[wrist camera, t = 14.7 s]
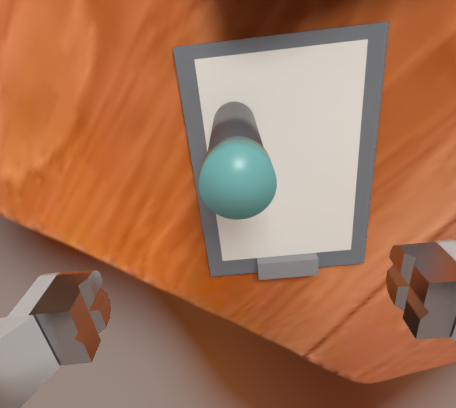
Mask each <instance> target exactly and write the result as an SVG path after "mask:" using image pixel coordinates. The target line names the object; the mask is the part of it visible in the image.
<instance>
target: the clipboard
mask: <svg viewBox="0 0 456 408" xmlns="http://www.w3.org/2000/svg"><path fill="white" fill-rule="evenodd" d="M388 29H389V22H380V23H372V24H363V25H355V26H347V27H338V28H330V29H321V30H313V31H305V32H296V33H288V34H279V35H271V36H263V37H254V38H246V39H238V40H229V41H221V42H212V43H204V44H196V45H187V46H179V47H173V53H174V59H175V65H176V71H177V77H178V83H179V89H180V95H181V101H182V107H183V113H184V119H185V125H186V131H187V137H188V143H189V149H190V155H191V161H192V167H193V173H194V179H195V185H196V191H197V197H198V203H199V209H200V215H201V221H202V227H203V233H204V239H205V245H206V251H207V257H208V263H209V269H210V275H211V277H213V276H224V275H236V274H247V273H258V277H259V280H266V279H278V278H290V277H301V276H313V275H318V267H327V266H339V265H350V264H362V263H364V257H365V247H366V238H367V228H368V219H369V209H370V200H371V190H372V181H373V171H374V162H375V152H376V143H377V133H378V124H379V114H380V105H381V95H382V86H383V76H384V67H385V57H386V48H387V38H388ZM228 102H240V103H243V104H245V105H246V106H248V107H249V108H250V110H251V111H252V113H253V115H254V118H255V121H256V125H257V128H258V131H259V134H260V137H261V140H262V144H263V147H264V149H265V150H266V151H267V153H268V154H269V157H270V159H271V162H272V165H273V168H274V171H275V174H276V179H277V188H276V193H275V196H274V198H273V200H272V201H271V203H270V204H269V206H268V207H267V208H266V209H265V210H264V211H262V212H261V213H259V214H257V215H256V216H253V217H251V218H247V219H241V220H234V219H228V218H224V217H221V216H219V215H217V214H216V213H214V212H213V211H212V210H210V209H209V208H208V207H207V205H206V204H205V203H204V201H203V199H202V197H201V195H200V191H199V178H200V173H201V169H202V164H203V160H204V157H205V155H206V153H207V152H208V147H209V142H210V137H211V132H212V126H213V121H214V116H215V114H216V112H217V110H218V109H219V108H220V107H221V106H222V105H224V104H226V103H228Z"/></svg>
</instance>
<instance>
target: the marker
mask: <svg viewBox="0 0 456 408" xmlns="http://www.w3.org/2000/svg"><path fill="white" fill-rule="evenodd" d="M276 188H277V179H276V174H275V171H274V168H273V165H272V162H271V159H270V157H269V154H268V153H267V151H266V150H265V149H264V147H263V144H262V140H261V137H260V134H259V131H258V128H257V125H256V121H255V118H254V115H253V113H252V111H251V110H250V108H249V107H248V106H246V105H245V104H243V103H240V102H228V103H226V104H224V105H222V106H221V107H220V108H219V109H218V110H217V112H216V114H215V116H214V121H213V126H212V132H211V137H210V142H209V147H208V152H207V153H206V155H205V157H204V160H203V164H202V169H201V173H200V178H199V191H200V195H201V197H202V199H203V201H204V203H205V204H206V205H207V207H208V208H209V209H210V210H212V211H213V212H214V213H216V214H217V215H219V216H221V217H224V218H228V219H234V220H241V219H247V218H251V217H253V216H256V215H257V214H259V213H261V212H262V211H264V210H265V209H266V208H267V207H268V206H269V204H270V203H271V201H272V200H273V198H274V196H275V193H276Z"/></svg>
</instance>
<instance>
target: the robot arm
mask: <svg viewBox="0 0 456 408" xmlns="http://www.w3.org/2000/svg"><path fill="white" fill-rule="evenodd" d="M389 258H390V259H391V261H392V262H393V265H392V267H391V268H390V269H389V270H388V271H387V277H386V283H387V290H388V293H389V296H390V298H391V300H392V301H393V303H394V305H395V306H397V307H399V308H400V309H402V310H404V314H403V319H404V321H405V323H406V324H407V326H408V327H409V329H410V331H411V332H412V334H413V335H414V337H415V339H428V338H451V337H452V338H451V339H452V340H453V341H454V342H456V241H455V240H452V239H449V240H440V241H432V242H427V243H416V244H405V245H393V247H392V249H391V251H390V257H389ZM102 283H103V280H102V278H101V275H100V273H99V272H98V271H95V270H93V271H77V272H62V273H48V274H43V275H41V276H39V277H38V278H37V280H36V281H35V282H34V284H33V285H32V286H31V288H30V289H29V290H28V291H27V293H26V294H25V295H24V296H23V298H22V299H21V300H20V301H19V303H18V304H17V305H16V307H15V308H14V309H13V310H12V312H11V313H10V314H9V316H8V317H6V318H5V317H4V318H0V408H20V407H21V406H22V405H23V404H24V403H25V402H26V401H27V400H28V399H29V398H30V397H31V396H32V395H33V394H34V393H35V392H36V391H37V390H38V389H39V388H40V387H41V386H42V385H43V384H44V383H45V382H46V381H47V380H48V379H49V378H50V377H51V376H52V375H53V374H54V373H55V372H56V371H57V370H58V369H59V368H60V365H68V364H78V363H88V362H92V360H93V358H94V356H95V353H96V351H97V348H98V346H99V344H100V341H101V340H100V337H99V335H98V334H99V333H100V332H101V331H102V330H103V329H105V328H106V326H107V324H108V321H109V319H110V310H111V306H110V299H109V297H108V294H107V293H106V292H105V291H103V290H102V289H101V288H100V287H101V285H102Z"/></svg>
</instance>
